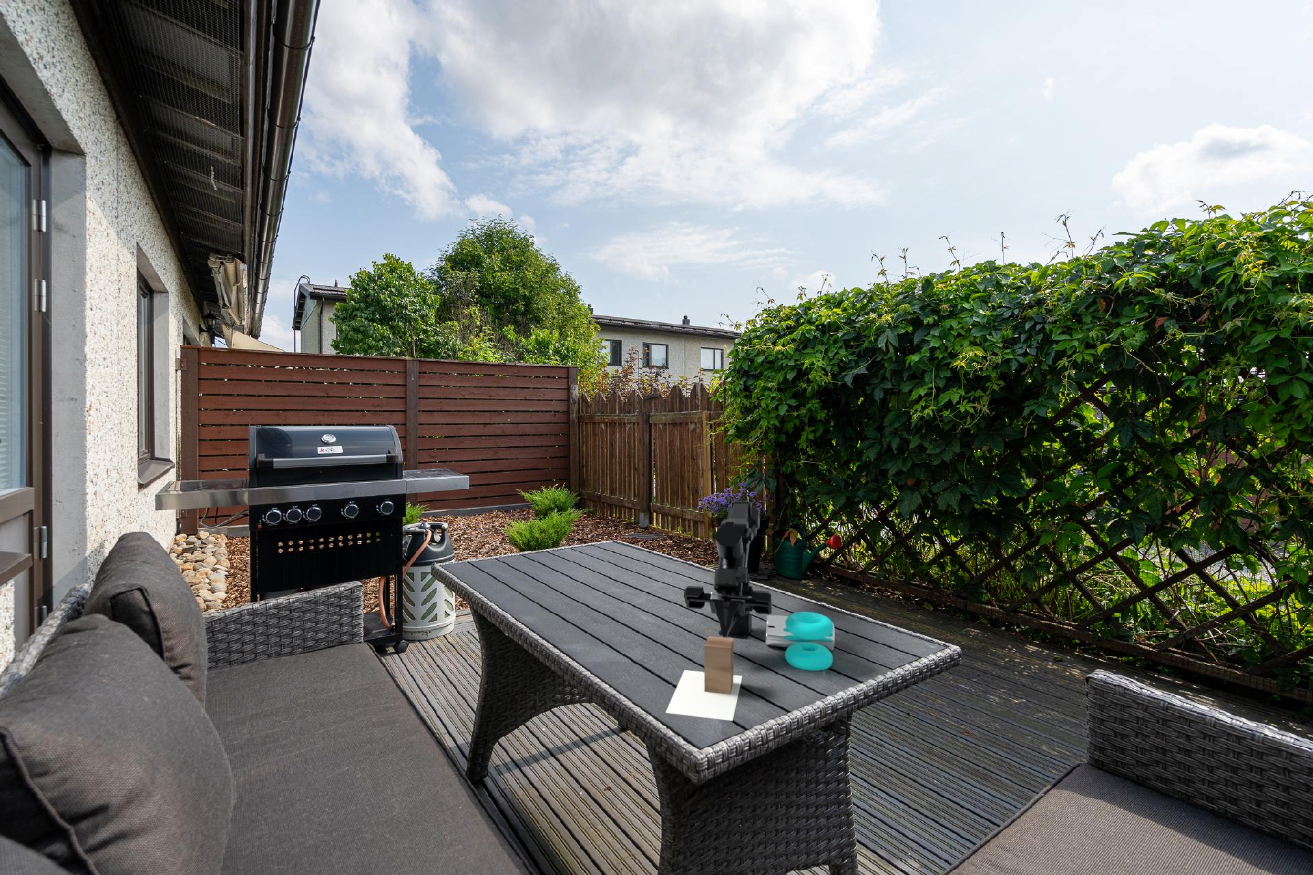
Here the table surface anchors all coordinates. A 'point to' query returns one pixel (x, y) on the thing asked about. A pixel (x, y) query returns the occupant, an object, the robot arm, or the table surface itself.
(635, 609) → the table surface
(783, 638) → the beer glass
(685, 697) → the white mat
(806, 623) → the donuts
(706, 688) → the walnut block
